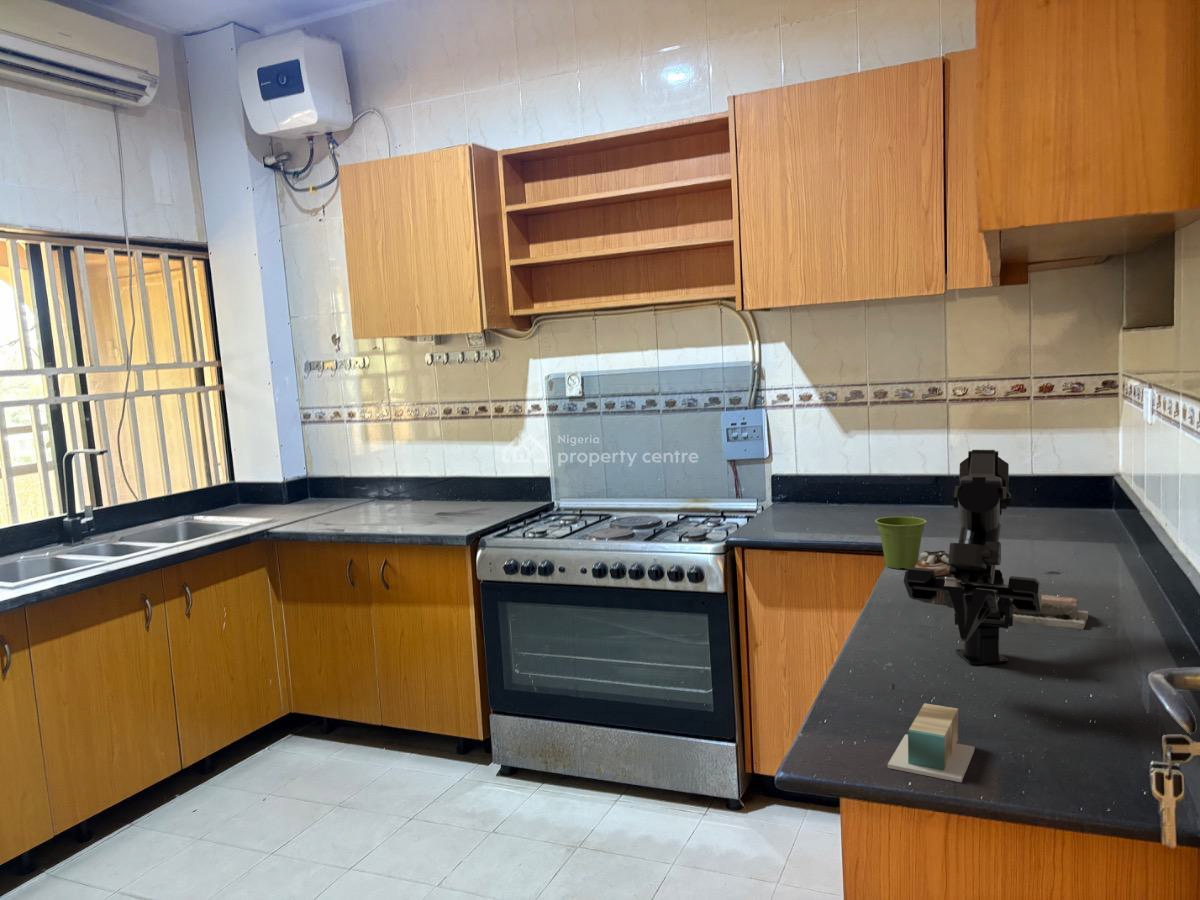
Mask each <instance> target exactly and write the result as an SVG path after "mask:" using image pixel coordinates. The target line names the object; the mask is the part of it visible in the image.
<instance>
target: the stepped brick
mask: <svg viewBox="0 0 1200 900" xmlns="http://www.w3.org/2000/svg"><path fill="white" fill-rule="evenodd" d="M1041 595H1042V603H1041V611H1040V612H1037V613H1035V612H1026V611H1018V610H1017V609H1016V608H1015V607H1014V606H1013V623H1022V624H1029V625H1030V624H1031V625H1037V626H1046V627H1047V626H1048V627H1056V628H1065V629H1075V630H1084V628H1085V627H1086V623H1087V621H1088V619H1089V611H1088V610H1079V609H1078V608H1079V607H1078V603H1079V600H1078V599H1077V598H1075V597H1067V596H1058V595H1050V594H1042V593H1041ZM1011 600H1012V601H1013V599H1011ZM1004 617H1005V616H1004Z"/></svg>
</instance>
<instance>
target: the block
mask: <svg viewBox="0 0 1200 900" xmlns="http://www.w3.org/2000/svg"><path fill="white" fill-rule="evenodd" d="M907 735H908V764H913V765H918V766H923V767H928V768H933V769H938V770H944V769H945V767H946V765H947V763H948V761H949V758H950V756H951V754H952V752H953V750H954V747H955V745H956V743H957V744H958V740H959V708H956V707H950V706H943V705H937V704H930V703H923V705H922V706H921V708H920V710H919V712H918V713H917V715H916V717H915V718H914V720H913V722H912V723H911V725H910V727H909V729H908V730H907Z"/></svg>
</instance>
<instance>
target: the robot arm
mask: <svg viewBox="0 0 1200 900" xmlns="http://www.w3.org/2000/svg"><path fill="white" fill-rule="evenodd" d="M967 454H968V455H967V458H965V459H964V460H962V461H961V462H960V463H959V471H958V472H959V476H958V478H959V482H958V483H959V484H958V485H955V486H954V493H953V497H952V498H953V508H954V509H958V519H959V523H960V530H959V536H958V542H950V543H949V551H948V554H949V560H948V564H949V565H950V568H949V572H950V575H953V578H952V577H945V578H944V579H939V578H936V577H935V574H934V571H933V569H925V568H914V567H910V568H909V569H906V571H905V573H904V576H903V583H904V587H905V588H906V591H907V594H908V597H909V598H910V599H912V600H916V601H919V600H924V601H932V600H933V599H935V598H936V597H937V591H940V592H942V593H943V596H944V599H945V602H946V604H945V605H946V607H947V608H949V609H953V610H954V625H957V626H958V632H959V638H960V641H962V642H963V648H958V649H956V650H955V653H956V654H957V655H958V656H959V657H961V658H962V659H963V660H964V661H966V663H968V664H969V665H972V666H973V665H990V664H994V665H995V664H1008V663H1009V659H1008V658H1007V657H1005V656H1004V655H1003V654H1001V649H1000V648H1001V644H1000V643H1001V641H1000V640H1001V639H1000V637H1001V634H1000V633H1001V632H1000V630H1001V629H1005V630H1006V629H1007V630H1008V629H1009V628H1010V627H1013V626H1014V625H1013V623H1014V622H1013V606H1014V607H1015V608H1016V609H1017V610H1018V611H1026V612H1035V613H1037V612H1040V611H1041V603H1042V595H1041V594H1042V591H1041V584H1040V581H1039V580H1037V578H1034V577H1023V576H1015V575H1013V576H1012V575H1011V576H1009V578H1008V584H1005V581H1004V578H1003V573H1002V571H1001V570H1000V569H996V567H997V566H1000V565H1001V561H1002V543H1001V542H1000V537H1001V536H1000V535H1001V530H1002V529H1001V527H1002V526H1001V525H1002V524H1001V523H1000V521H1001V520H1000V519H1001V518H1000V517H1001V516H1002V511H1003V510H1007V508H1008V507H1010V506H1011V502H1012V500H1011V497H1012V495H1011V493H1010V492H1009V489H1010V488H1009V485H1010V484H1009V482H1010V480H1009V476H1010V475H1009V474H1010V473H1009V468H1010V467H1009V463H1008V462H1006V461H1005V460H1003V459H1002V458H1001V457H1000V456H999V451H998V450H995V449H972V450H968V452H967ZM1011 599H1013V601H1012V600H1011ZM1004 616H1005V617H1004Z"/></svg>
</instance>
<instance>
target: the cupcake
mask: <svg viewBox="0 0 1200 900" xmlns="http://www.w3.org/2000/svg"><path fill="white" fill-rule="evenodd" d="M919 555H920V556H919V558H920V559H918V563H917V564H916V565H915V568H925V569H933V571H934V574H935V577H936V578H939V579H944V578H945V577H952V578H953V575H950V572H949V568H950V565H949V564H948V560H949V553H946V551H945V550H936V551H929V550H924V552H920V553H919ZM918 601H919V602H922V603H926V604H936V605H942V604H943V605H944V604H945V605H946V602H945V599H944V596H943V593H942V592H940V591H937V597H936V598H935V599H933V600H932V601H924V600H918Z"/></svg>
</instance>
